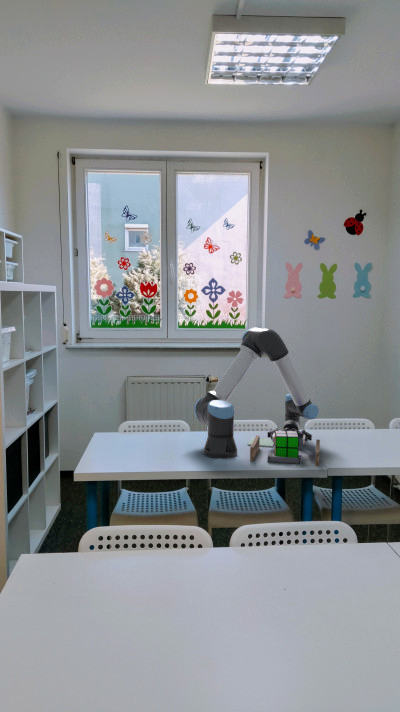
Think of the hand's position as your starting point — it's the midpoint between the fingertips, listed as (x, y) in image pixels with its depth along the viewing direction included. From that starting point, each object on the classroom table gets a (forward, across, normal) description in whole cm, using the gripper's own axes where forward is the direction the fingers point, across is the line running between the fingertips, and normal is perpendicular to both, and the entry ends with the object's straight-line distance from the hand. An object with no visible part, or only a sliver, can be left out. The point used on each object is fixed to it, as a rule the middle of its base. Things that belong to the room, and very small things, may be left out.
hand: (288, 440), depth 225 cm
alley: (+4, +1, -6) cm, 7 cm away
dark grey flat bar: (+11, +1, -6) cm, 13 cm away
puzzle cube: (+2, +1, -7) cm, 7 cm away
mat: (-16, +14, -6) cm, 22 cm away
